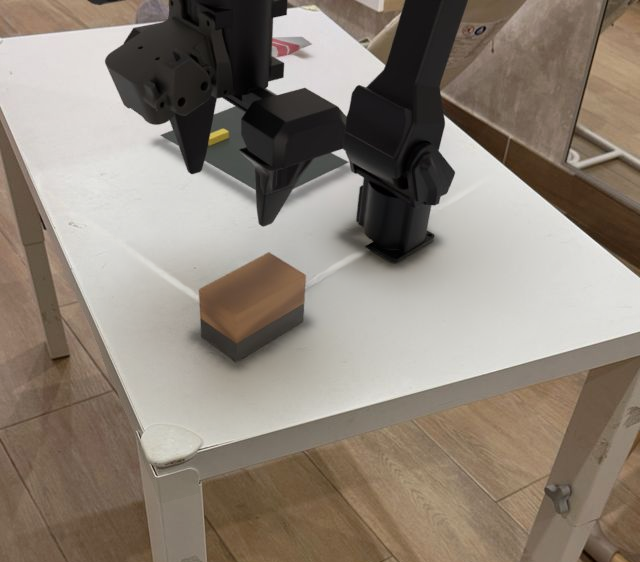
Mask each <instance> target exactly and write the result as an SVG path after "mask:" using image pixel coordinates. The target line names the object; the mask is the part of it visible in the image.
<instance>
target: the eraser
mask: <svg viewBox="0 0 640 562" xmlns="http://www.w3.org/2000/svg"><path fill="white" fill-rule="evenodd" d="M306 283H307V275H306V273H303V272H302V271H300V270H299V269H297V268H296V267H293V266H292V265H291V264H289V263H287V262H286V261H284V260H282V259H281V258H280V257H278V256H276V255H274V253H273V254H272V252H270V251H269V252H267V253H264V254H263V255H261V256H259V257H257V258H255V259H253V260H251V261H250V262H248V263H246V264H243V265H242V266H240V267H238V268H236V269H234V270H233V271H230V272H229V273H227V274H224V275H223V276H221V277H220V278H217V279H216V280H214V281H212V282H210V283H207V284H206V285H204V286H202V287H200V288H198V301H199V318H200V320H199V323H200V336H201V338H202V339H204V340H205V341H207V342H208V343H209V344H211V345H212V346H214V347H215V348H216V349H218V350H219V351H221V352H222V353H223V354H224V355H226V356H227V357H229V358H230V359H231V360H232V361H235V362H236V363H238V362H239V361H241V360H243V359H245V357H248V356H249V355H251V354H252V353H254V352H256V351H258V350H260V349H261V348H262V347H264V346H265V345H267V344H269V343H271V342H272V341H274V340H276V339H277V338H279V337H280V336H282V335H283V334H285V333H287V332H288V331H290V330H292V329H294V328H295V327H296V326H298V325H300V324H302V323H303V322H304V315H305V314H304V313H305V302H306V301H305V299H306V297H305V296H306Z"/></svg>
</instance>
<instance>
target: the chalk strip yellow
mask: <svg viewBox="0 0 640 562" xmlns="http://www.w3.org/2000/svg"><path fill="white" fill-rule="evenodd" d="M227 138H229V131H227V130H225V129H220V130H218V131H215V132H213V133H210V137H209V143H208V145H209V146H210V145H213V144H215V143H218V142H220V141H223V140H225V139H227Z"/></svg>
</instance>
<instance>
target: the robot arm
mask: <svg viewBox="0 0 640 562" xmlns="http://www.w3.org/2000/svg"><path fill="white" fill-rule="evenodd" d="M124 1H125V0H87V2H89V3H90V4H92V5H96V6H104V5H109V4H114V3H118V2H124ZM468 1H469V0H404V2H403V6H402V8H401V11H400V15H399V18H398V22H397V25H396V28H395V32H394V36H393V39H392V42H391V45H390V49H389V52H388V56H387V59H386V62H385V65H384V68H383V70H382V71H381V72H380V73H379V74H378V75H377V76H376V77H375V78H373V80H372V81H370V83H368V84H367V85H366V86H364V85H360V84H358V85H356V86H355V88H354V89H353V91H352V92H351V96H350V102H349V107H348V111H347V114H345V113H344V112H343V111H342V109H341V108H340V107H339V106H338V105H337V104H334V103H333V102H331V101H329V100H328V99H326V98H324V97H322V96H321V95H319V94H317V93H315V92H314V91H312V90H310V89H308V88H307V87H301V88H298V89H295V90H291V91H288V92H284V93H279V94H277V93H274V92H273V91H272V90H270V89H268V88H269V82H273V81H277V80H280V79H284V78H285V77H284V76H285V62H284V61H282V60H280V59H279V58H277V57H275V58H274V57H273V56H272V38H273V37H274V19H275V18H280V17H284V16H288V0H168V15H167V19H165V20H164V21H161V22H157V23H151V24H146V25H141V26H136V27H133V28H132V29H131V31H130V32H129V34H128V35H127V37H126V38H125V40H124V42H123V44H121V45H120V46H118V47H117V48H115V49H114V50H112V51H111V52H110V53H108V54H107V56H106V57H105V59H104V64H105V67H106V69H107V71H108V73H109V75H110V77H111V79H112V82H113V84H114V87H115V89H116V90H117V94H119V98H120V100H121V102H122V104H123V105H124V107H126V109H131V110H132V111H134V112H135V113H137V115H139V116H141V117H142V118H143V120H144V121H145V122H146V123H148V124H150V125H154V126H158V125H159V126H160V125H163V124H166V123H168V122H169V123H170V126H171V128H172V130H173V131H174V134H175V137H176V140H177V143H178V145H179V146H178V145H177V146H178V148H179V152H180V154H181V157H182V160H183V162H184V165H185V168H186V170H187V172H188V173H189V174H190V175H196V174H198V173H201V172H202V171H203V168H204V164H205V161H204V160H205V157H206V153H207V148H208V143H209V137H210V132H211V127H212V122H213V116H214V114H215V110H216V105H217V100H218V99H223V100H225V101H226V102H228V103H230V104H232V105H233V107H235V106H236V107H238V108H239V109H241V110H242V111H244V112H245V114H244V115H243V117H242V118H241V135H242V138H243V140H244V142H245V145H246V147H245V148H242V149H239V150H240V152H241V153H242V154H243V155H244V156H245V157H246V158H247V159H248V160H249V161H250V162H252V163H253V164H254V167H255V184H256V190H255V204H256V205H255V207H256V214H257V215H256V216H257V221H258V222H257V223H258V225H259V226H260V227H266V226H268V225H272V224H273V223H274V222H275V220H276V218H277V217H278V215H279V213H280V212H281V211H282V210H281V209H282V208H283V207H284V205H285V203H286V202H287V200H288V198H289V197H290V195H291V193H292V192H293V190H294V189H293V188H294V187H295V185H296V183H297V182H298V180H299V179H300V177H301V176H302V174H303V173H304V172H305V170H306V169H307V168H308V166H309V165H310V164H311V162H312V161H313V160H314V158H317V157H320V156H323V155H326V154H329V153H332V154H333V153H335V152H337V151H340V150H344V151H345V155H346V157H347V159H348V162H349V168H350V171H351V173H353V174H355V175H358V176H360V177H362V178H363V179H362V180H363V181H362V185H360V186H359V189H358V197H357V208H356V217H355V222H357V223H358V225H359V226H360V227H362V229H363V233H364V235H365V236H366V237H367V239H369V240H370V241H371V242H369V243H367V244H366V245H364V247H365V248H367V249H369V250H370V251H372V252H373V253H375V254H377V255H379V256H381V257H382V258H384V259H386V260H388V261H389V262H391V263H396V264H397V263H399V262H400V261H403V260H404V259H406V258H408V257H409V256H410V255H412V254H414V253H415V252H417V251H418V250H420V249H422V248H424V247H425V246H427V245H428V244H430V243H431V242H433V241H434V240H435V234H434V233H433V232H431V231H429V230H428V228H429V227H428V226H429V221H430V215H431V210H432V206H437V205H439V204H440V201H441V197H443V196H445V195H447V194H448V193H449V190H450V188H451V185H452V183H453V180H454V178H455V176H456V171H455V170H454V168H453V167H452V166H451V164H450V163H449V162H448V161H447V159H446V158H445V157H444V155H443V154H442V153H441V152H440V147H441V144H442V139H443V135H444V130H445V127H446V120H445V113H444V106H443V99H442V95H441V82H442V80H443V77H444V74H445V70H446V67H447V65H448V62H449V58H450V55H451V53H452V49H453V48H454V47H453V46H454V44H455V41H456V38H457V35H458V31H459V29H460V26H461V23H462V19H463V17H464V14H465V11H466V8H467V5H468Z"/></svg>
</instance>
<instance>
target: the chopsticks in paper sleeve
mask: <svg viewBox="0 0 640 562" xmlns="http://www.w3.org/2000/svg"><path fill="white" fill-rule="evenodd" d="M312 45H313V43H312V42H310V41H309V40H307V38H305V37H303V36H275V37H274V36H273V38H272V56H273V57H274V58H279V57H285V56H287V55H290V54H292V53H296V52H297V51H300V50H302V49H304V48H307V47H310V46H312Z"/></svg>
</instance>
